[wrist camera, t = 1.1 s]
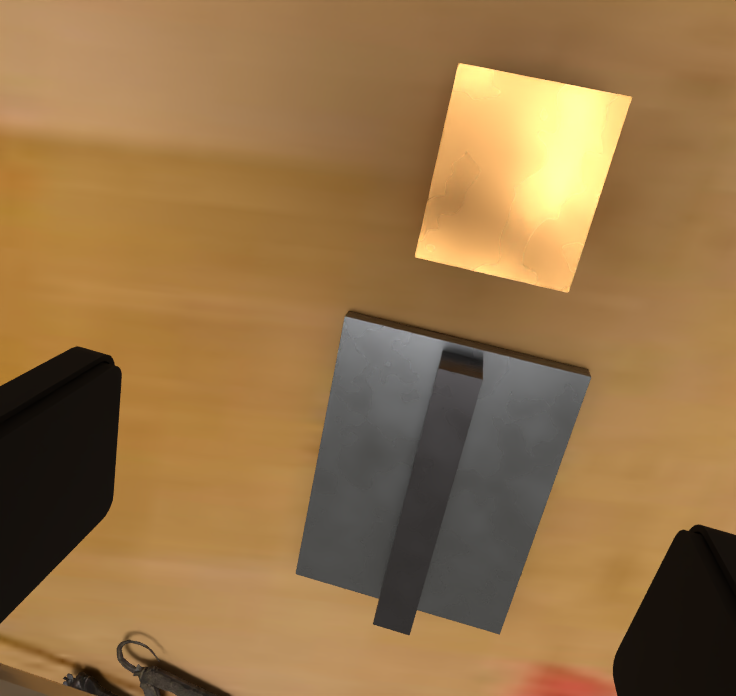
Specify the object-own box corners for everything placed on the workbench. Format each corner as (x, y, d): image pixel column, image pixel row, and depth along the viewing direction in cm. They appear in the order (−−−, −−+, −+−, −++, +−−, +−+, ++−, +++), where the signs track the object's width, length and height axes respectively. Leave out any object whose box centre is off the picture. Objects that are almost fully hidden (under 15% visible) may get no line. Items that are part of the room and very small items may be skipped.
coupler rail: (349, 310, 31) (332, 331, 27) (587, 369, 29) (600, 398, 26) (300, 562, 36) (282, 604, 33) (499, 621, 35) (500, 670, 32)
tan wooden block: (464, 78, 26) (458, 62, 21) (602, 105, 26) (631, 97, 21) (427, 236, 29) (414, 257, 24) (553, 265, 28) (568, 292, 23)
